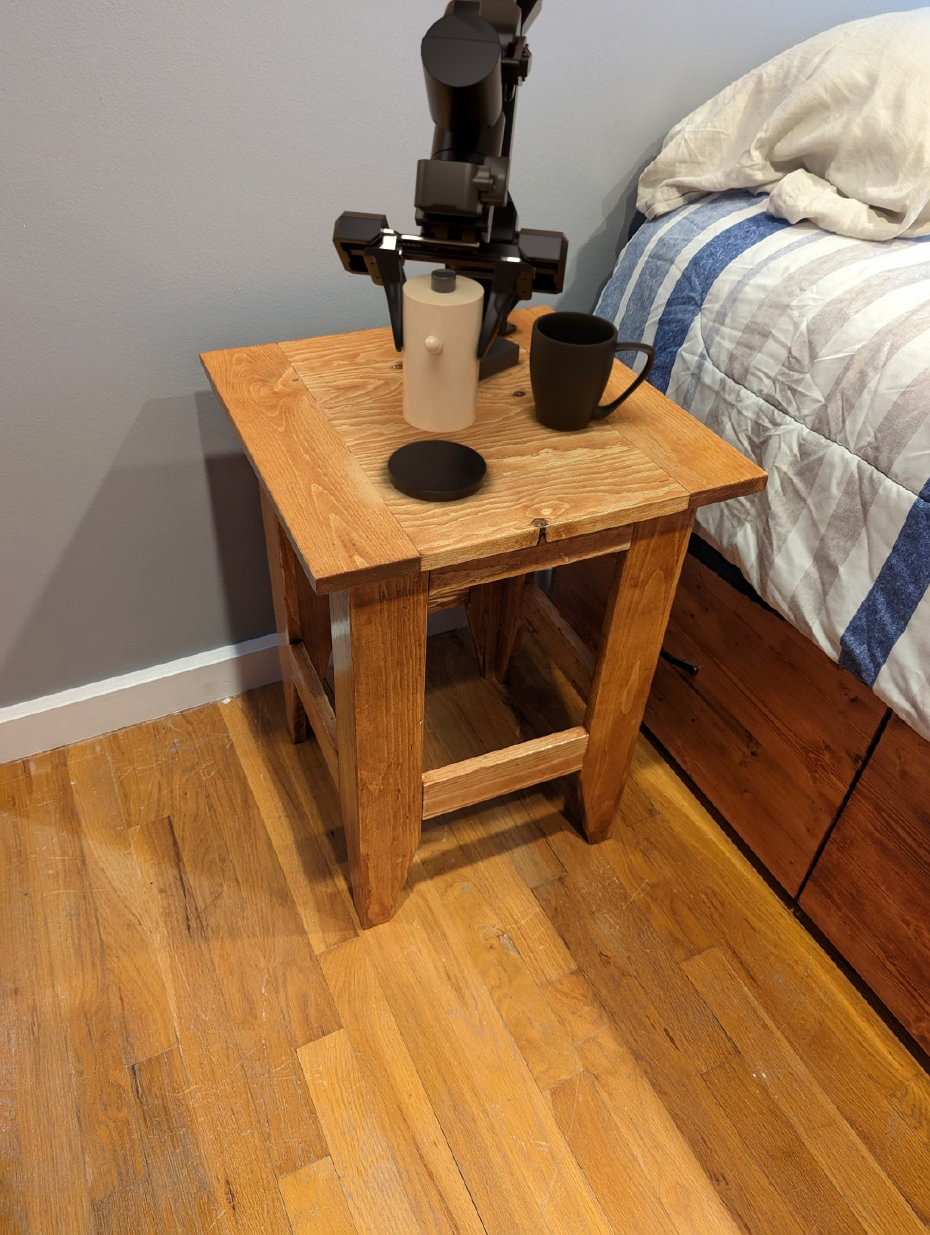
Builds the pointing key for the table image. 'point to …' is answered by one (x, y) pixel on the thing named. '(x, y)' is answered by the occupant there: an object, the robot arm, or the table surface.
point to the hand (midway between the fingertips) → (438, 354)
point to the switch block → (498, 357)
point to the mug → (576, 368)
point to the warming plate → (437, 470)
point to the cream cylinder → (441, 350)
